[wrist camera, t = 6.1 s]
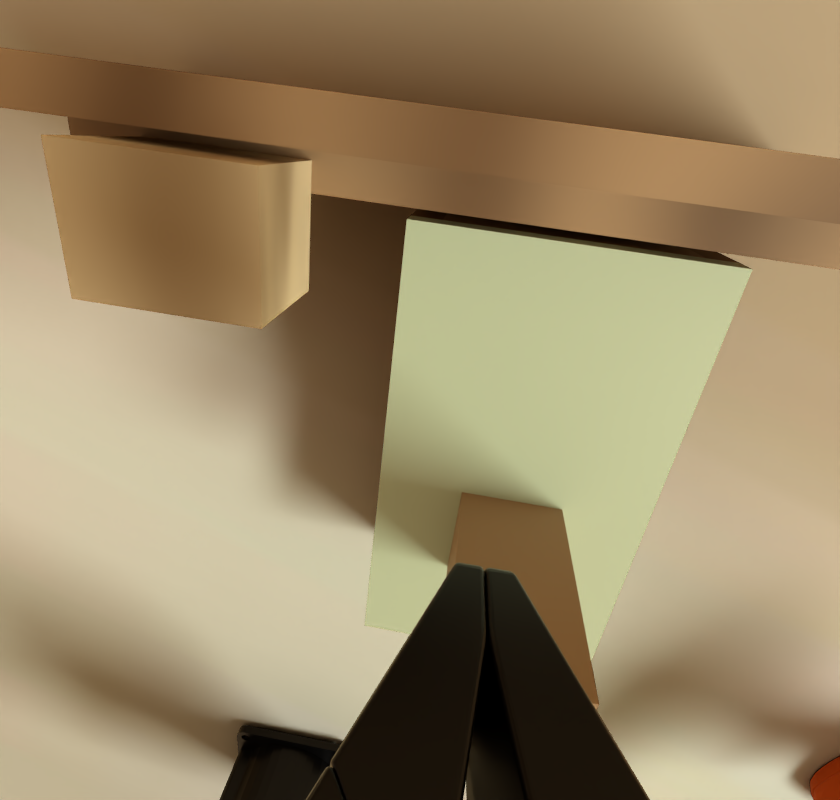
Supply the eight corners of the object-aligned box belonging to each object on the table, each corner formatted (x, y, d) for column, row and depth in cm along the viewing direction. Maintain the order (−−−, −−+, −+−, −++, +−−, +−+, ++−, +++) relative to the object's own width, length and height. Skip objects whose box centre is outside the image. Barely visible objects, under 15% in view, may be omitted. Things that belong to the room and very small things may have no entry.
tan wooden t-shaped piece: (212, 505, 23) (110, 637, 17) (179, 82, 16) (-22, 44, 10) (617, 578, 22) (665, 747, 16) (783, 163, 15) (994, 179, 9)
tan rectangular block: (156, 267, 13) (71, 298, 11) (142, 136, 12) (40, 134, 9) (308, 290, 13) (261, 328, 10) (311, 160, 12) (258, 165, 9)
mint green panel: (373, 591, 20) (313, 819, 13) (415, 211, 14) (340, 278, 7) (581, 630, 20) (628, 886, 13) (724, 255, 13) (965, 373, 6)
